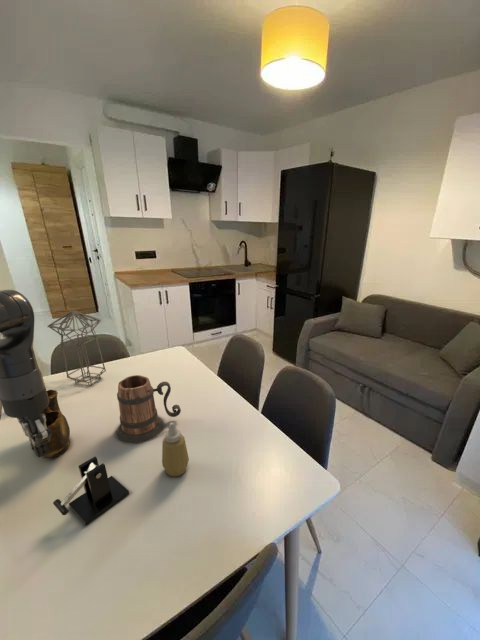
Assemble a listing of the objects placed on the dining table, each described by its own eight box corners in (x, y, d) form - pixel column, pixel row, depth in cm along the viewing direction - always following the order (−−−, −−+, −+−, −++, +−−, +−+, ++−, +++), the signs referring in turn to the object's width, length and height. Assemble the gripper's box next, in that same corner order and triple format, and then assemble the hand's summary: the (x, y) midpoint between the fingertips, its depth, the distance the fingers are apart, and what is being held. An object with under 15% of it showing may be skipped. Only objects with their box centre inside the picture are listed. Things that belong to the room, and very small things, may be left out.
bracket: (86, 525, 74) (75, 489, 69) (69, 506, 79) (58, 471, 73) (129, 493, 83) (122, 459, 78) (112, 478, 88) (105, 445, 83)
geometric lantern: (113, 376, 144) (101, 308, 130) (89, 392, 130) (73, 317, 116) (86, 372, 147) (72, 304, 133) (60, 387, 133) (40, 313, 119)
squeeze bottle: (190, 459, 96) (187, 414, 89) (188, 478, 89) (185, 431, 82) (165, 461, 95) (159, 416, 88) (161, 481, 88) (155, 433, 80)
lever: (66, 516, 71) (59, 514, 69) (57, 505, 74) (50, 503, 72) (105, 471, 77) (99, 468, 75) (95, 463, 79) (89, 459, 78)
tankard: (116, 448, 99) (106, 398, 91) (116, 420, 113) (107, 375, 105) (185, 431, 109) (181, 385, 101) (177, 407, 123) (173, 365, 115)
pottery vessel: (78, 464, 92) (64, 412, 84) (35, 480, 86) (16, 425, 78) (68, 423, 110) (56, 377, 102) (33, 433, 104) (17, 385, 96)
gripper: (-12, 385, 60) (12, 450, 67) (11, 409, 53) (35, 478, 60) (31, 372, 66) (49, 433, 73) (57, 392, 59) (74, 458, 66)
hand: (42, 454), depth 66 cm, fingers closed
